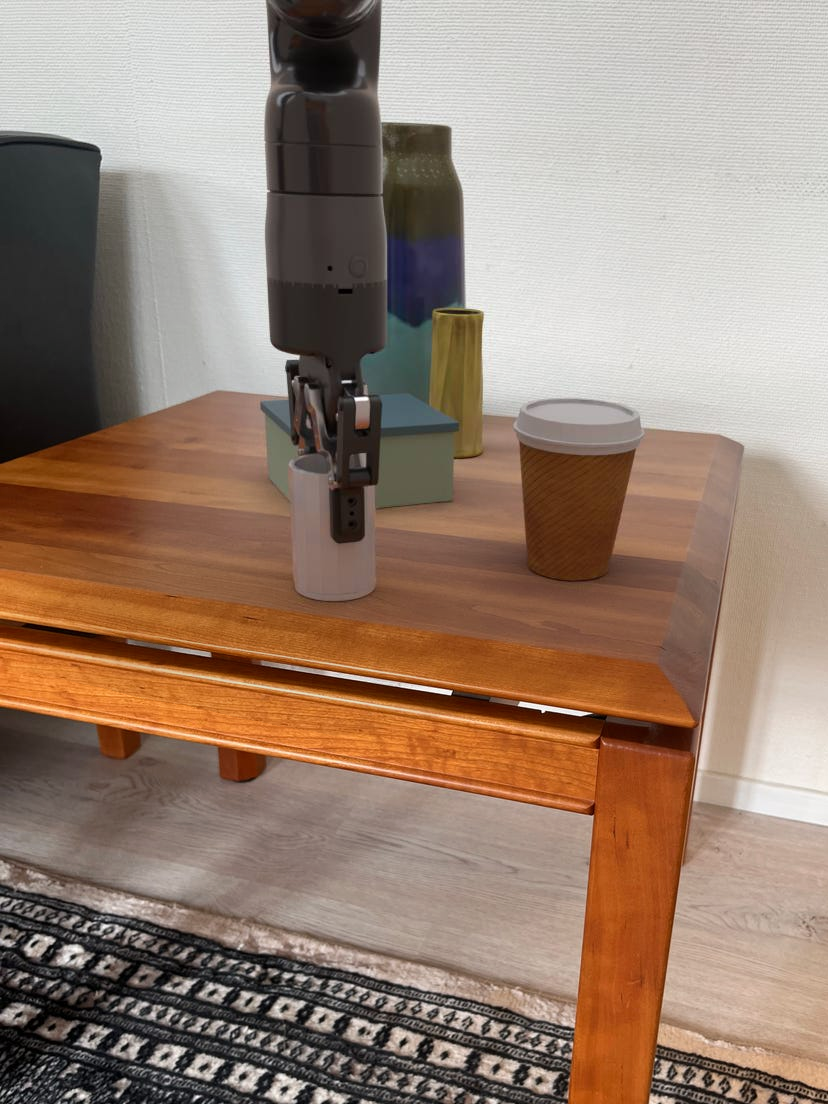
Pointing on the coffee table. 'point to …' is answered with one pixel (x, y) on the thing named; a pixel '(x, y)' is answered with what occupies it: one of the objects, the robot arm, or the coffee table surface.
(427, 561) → the coffee table surface
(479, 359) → the vase
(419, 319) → the vase
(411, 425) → the container
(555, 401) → the disposable coffee cup
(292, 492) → the cup
